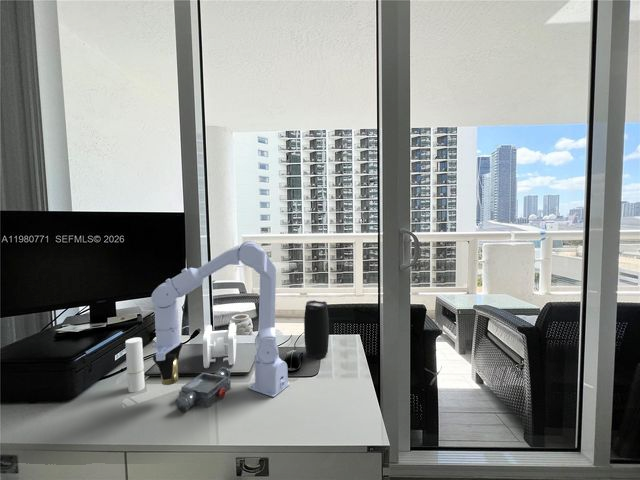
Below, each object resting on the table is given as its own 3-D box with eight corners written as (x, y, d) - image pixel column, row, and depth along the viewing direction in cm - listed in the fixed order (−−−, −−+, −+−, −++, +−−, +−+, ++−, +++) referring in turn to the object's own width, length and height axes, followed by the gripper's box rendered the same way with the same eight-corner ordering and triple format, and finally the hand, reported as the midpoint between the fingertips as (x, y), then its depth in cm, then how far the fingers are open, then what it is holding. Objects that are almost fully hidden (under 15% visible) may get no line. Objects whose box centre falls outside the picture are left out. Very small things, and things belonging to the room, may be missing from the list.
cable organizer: (208, 353, 121) (207, 323, 120) (237, 350, 123) (236, 320, 122) (203, 371, 106) (201, 337, 105) (236, 368, 108) (234, 334, 108)
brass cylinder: (181, 379, 90) (180, 358, 89) (167, 386, 86) (166, 365, 86) (172, 376, 92) (170, 355, 92) (158, 382, 88) (157, 361, 88)
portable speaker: (332, 351, 120) (332, 300, 119) (321, 362, 112) (321, 307, 110) (312, 347, 124) (311, 298, 122) (300, 357, 115) (299, 304, 114)
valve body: (212, 376, 103) (211, 364, 103) (241, 382, 99) (241, 369, 99) (167, 408, 86) (167, 394, 85) (201, 417, 82) (200, 402, 82)
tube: (137, 393, 94) (134, 343, 93) (124, 391, 95) (121, 342, 93) (148, 385, 98) (145, 337, 97) (135, 384, 99) (133, 337, 98)
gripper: (160, 319, 94) (162, 363, 95) (141, 338, 80) (144, 389, 81) (185, 317, 96) (187, 361, 97) (171, 335, 81) (174, 386, 82)
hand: (169, 374), depth 89 cm, fingers closed on brass cylinder, 4 cm apart
